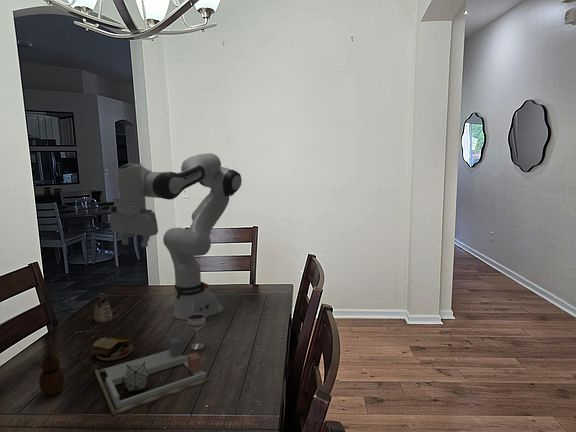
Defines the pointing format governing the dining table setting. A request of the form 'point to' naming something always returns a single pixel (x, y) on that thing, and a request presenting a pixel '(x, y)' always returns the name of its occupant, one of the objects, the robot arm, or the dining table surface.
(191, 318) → the wineglass
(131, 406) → the lane rails
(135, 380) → the game die
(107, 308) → the figurine
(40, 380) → the wooden figurine
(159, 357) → the inner strip
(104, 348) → the toy sandwich meal
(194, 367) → the grey rectangular frame
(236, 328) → the dining table surface
